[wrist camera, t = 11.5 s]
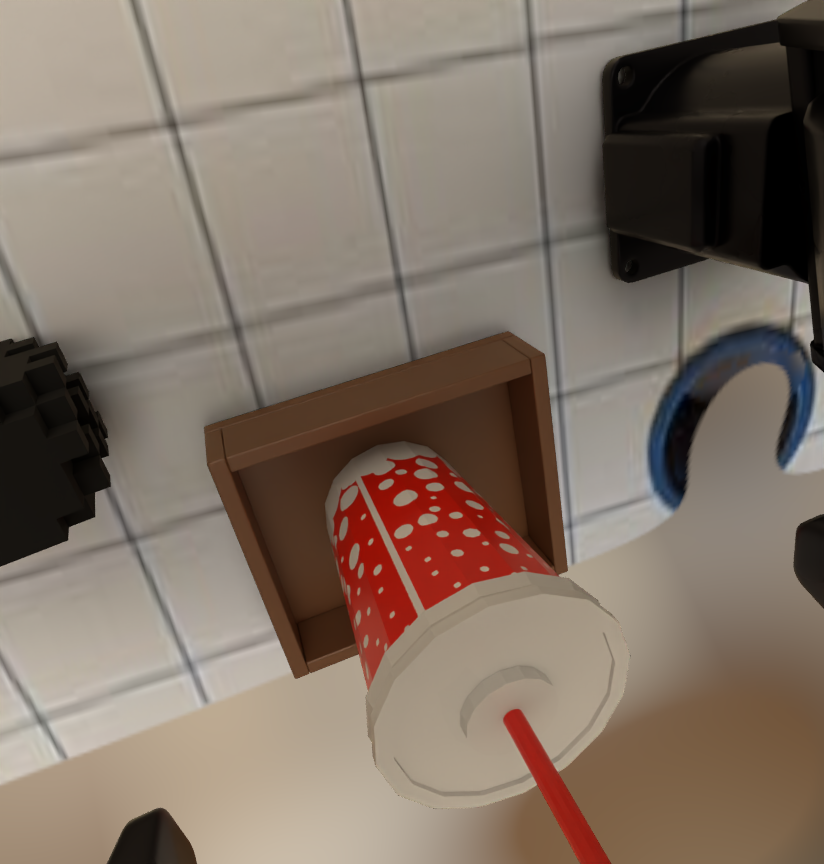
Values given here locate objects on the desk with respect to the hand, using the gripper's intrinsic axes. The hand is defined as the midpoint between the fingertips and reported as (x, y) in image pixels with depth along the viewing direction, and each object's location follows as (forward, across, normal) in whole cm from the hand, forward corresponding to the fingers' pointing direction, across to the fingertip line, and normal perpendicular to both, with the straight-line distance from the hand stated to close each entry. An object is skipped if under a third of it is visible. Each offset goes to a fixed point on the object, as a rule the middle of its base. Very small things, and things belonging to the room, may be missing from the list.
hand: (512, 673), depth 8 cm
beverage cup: (+13, -1, +5) cm, 14 cm away
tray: (+13, -1, +5) cm, 14 cm away
